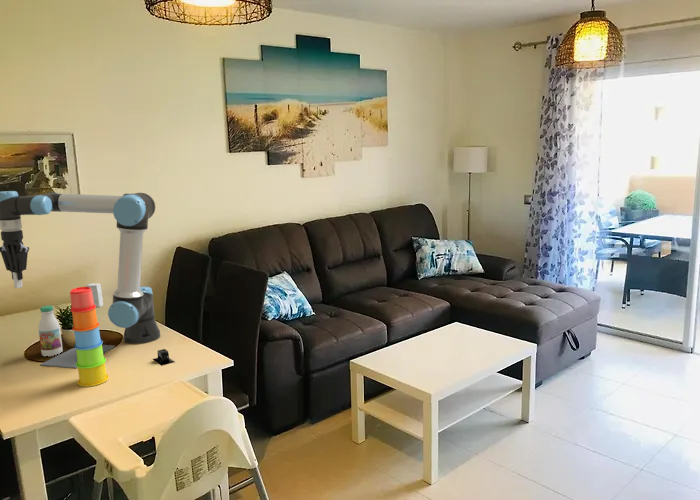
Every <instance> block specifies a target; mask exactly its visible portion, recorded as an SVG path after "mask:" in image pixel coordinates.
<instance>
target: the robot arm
mask: <svg viewBox="0 0 700 500" xmlns="http://www.w3.org/2000/svg"><path fill="white" fill-rule="evenodd" d="M155 211H156V203H155V200H154V199H153V197H152V196H150V195H149V194H147V193H145V192H135V193H124V194H122V195H109V194H108V195H107V194H106V195H105V194H103V195H102V194H79V193H78V194H77V193H73V194H72V193H58V192H48V193H42V194H37V195H25V196H24V195H23V196H21V195H19V193H18V192H17V191H15V190H8V191H7V190H6V191H0V230H1V231H0V238H1V241H3V242H2V245H1V246H0V254H1V258H2V260H3V263H4V266H5V269H6V271H9V272H11V279H12V281H13V287H14V289H20V288H23V278H24V277H23V271H25V270H27V265H28V253H29V251H30V247H29V246H27V247H26V246H25V245H24V242H23V238H24V235H23V234H24V233H23V230H22V229H23V225H22V217H21V216H43V215H49V214H50V213H51V212H62V213H63V212H65V213H66V212H68V213H69V212H70V213H72V212H73V213H87V214H88V213H89V214H90V213H93V214H113V217H114V219H115V220H116V228H117V230H118V231H119V233H120V234H119V249H118V250H119V253H118V254H119V255H118V271H117V286H116V287H117V288H116V290H114V291H113V293H112V304H111V305H110V306H109V307H108V310H107V311H108V312H107V316H108V319H109V321H110V322H111V323H112V324H113V325H114V326H115V327H118V328H123V329H124V333H123V342H125V343H127V344H145V343H150V342H154V341H157V340H158V339H159V338H160V337H161V331H160V328H159V326H158V324H157V322H156V319H155V307H154V296H153V295H154V293H153V289H152V288H151V287H150V286H141V275H142V261H143V243H144V241H143V239H144V233H145V232H146V231H147V230H148V227H149V226H148V225H149V220H150V218H152V217H153V215H154V214H155V213H156V212H155Z"/></svg>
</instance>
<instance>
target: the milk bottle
mask: <svg viewBox="0 0 700 500" xmlns="http://www.w3.org/2000/svg"><path fill="white" fill-rule="evenodd" d="M39 309H40V313H41V318H40V321H39V324H38V335H39V343H40V344H39V345H40V351H41V356H43V357H46V356H48V357H55V356H58V355H60V353H61V352H62V353H63V351H64V350H63V342H62V335H61V334H62V333H61V327H60V323H59V321H58V319H57V317H56V316H55V313H54V306H53V305H43V306H41V307H40V308H39ZM62 353H61V354H62ZM57 354H58V355H57ZM54 355H55V356H54Z"/></svg>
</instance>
